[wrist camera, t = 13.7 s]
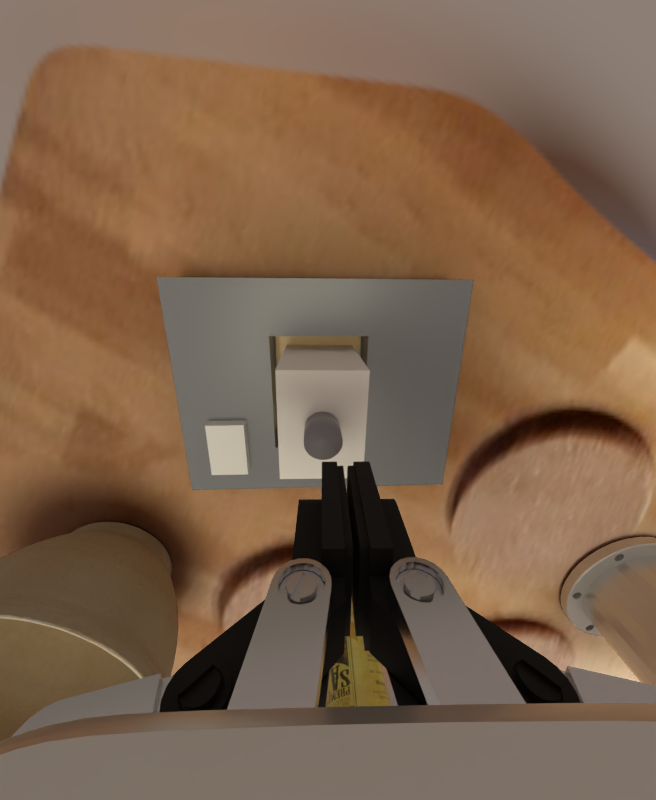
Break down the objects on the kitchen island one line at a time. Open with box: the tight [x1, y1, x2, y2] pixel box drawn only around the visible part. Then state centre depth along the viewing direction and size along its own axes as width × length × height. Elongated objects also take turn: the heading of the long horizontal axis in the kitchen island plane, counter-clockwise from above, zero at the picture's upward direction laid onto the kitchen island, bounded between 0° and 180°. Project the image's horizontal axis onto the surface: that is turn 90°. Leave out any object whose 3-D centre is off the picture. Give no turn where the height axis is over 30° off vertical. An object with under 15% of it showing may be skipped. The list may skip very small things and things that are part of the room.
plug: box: [275, 345, 370, 479], centre depth 18 cm, size 4×6×9 cm
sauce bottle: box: [327, 599, 391, 707], centre depth 22 cm, size 6×6×20 cm
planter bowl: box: [0, 522, 178, 741], centre depth 23 cm, size 16×16×11 cm
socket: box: [157, 277, 474, 490], centre depth 21 cm, size 18×14×4 cm
